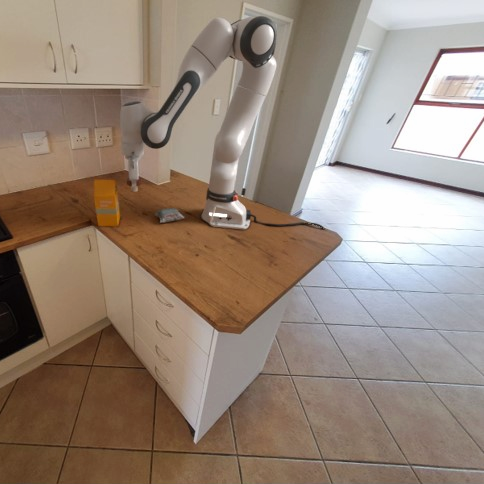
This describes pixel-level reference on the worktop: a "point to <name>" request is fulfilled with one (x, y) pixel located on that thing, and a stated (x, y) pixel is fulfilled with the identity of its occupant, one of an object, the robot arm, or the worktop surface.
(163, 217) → the packaged food
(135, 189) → the brown stepped knob
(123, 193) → the worktop surface
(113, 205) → the orange juice
